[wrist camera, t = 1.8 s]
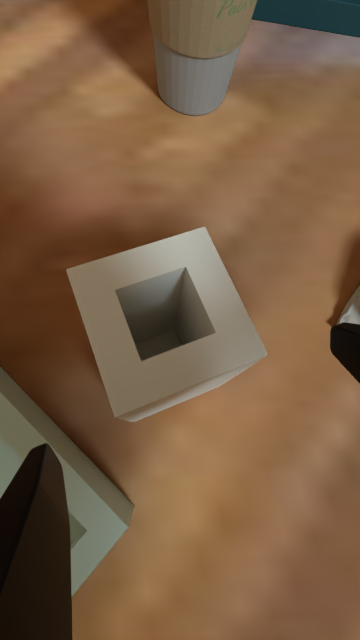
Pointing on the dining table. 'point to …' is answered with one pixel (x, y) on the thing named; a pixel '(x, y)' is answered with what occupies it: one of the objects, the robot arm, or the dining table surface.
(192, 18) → the coffee cup
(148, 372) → the beige hollow square block
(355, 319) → the packaged product
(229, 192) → the dining table surface
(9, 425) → the green square tray
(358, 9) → the donation box
